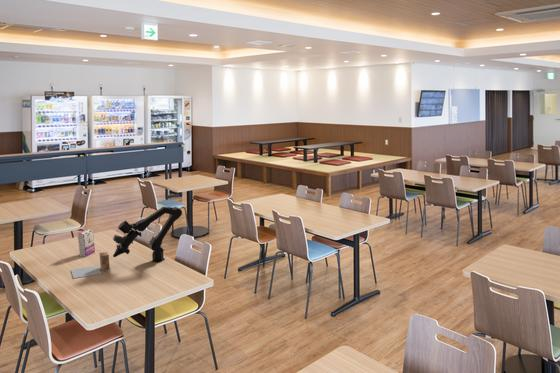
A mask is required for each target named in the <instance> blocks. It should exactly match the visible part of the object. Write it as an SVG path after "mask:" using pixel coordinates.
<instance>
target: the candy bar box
mask: <svg viewBox="0 0 560 373" xmlns="http://www.w3.org/2000/svg"><path fill="white" fill-rule="evenodd" d="M77 239H78V242H77V243H78V249H79V250H78V251H79V257H82V258H84V257H85V258H86V257H88V256H90V255H92V254H93V253H95V252H96V251H95V250H96V249H95V241H94V240H95V239H94V231H93V229H85V230H83V231H81V232H79V233H77Z"/></svg>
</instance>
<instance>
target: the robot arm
mask: <svg viewBox="0 0 560 373" xmlns="http://www.w3.org/2000/svg"><path fill="white" fill-rule="evenodd" d="M165 214H166V215H167V214H168V218H167V220H166V221H165V223H164V224H163V226H162V228H161V229H160V230H159V232H158V234H157V235H156V236H155V237H154V236H152V238H150V240H149V244H148V246H149V248H150V249H151V250H152V254H151V256H152V260H151V262H155V263H162V261H165V260H166V258H164V257H165V256H164V248H163V247H162V244H163V240H164V238H165V236H166V235H167V233H168V232H169V231H170V229H171V228H172V226H173V225H174V223H175V222H176V221H178V220H179V219H180V217H181V216H182V214H183V210H182V209H181V208H179V207H177V206H174V207H171V206H170V207H169V206H162V207H160V208H159V209H158V210H156V211H155V212H153V213H152V214H150V215H149V216H147V217H146V218H142V219H140V220H138V221H136V222H135V223H131V224H130V223H129V222H128V221H127V220H124V221H122V222H121V223H120V224H119V225H118V226H117V230H119V231H121V232H122V233H123V234H126V235H123V236H120V235H117V234H114V236H113V238H112V240H113V241H114V242H115V243H116V249H115V251H114V253H113V255H112V258H117V257H118V256H120V255H122V254H127V255H129V254H130V253H131V250H130V249H129V248H130V247H129V246H130V245H131V244H134V241H135V240H136V239H137V238H138V237H140V238H141V237H142V232H144V231H145V230H146V229H147V228H149V226H150V225H151V224H152V223H154V222H155V221H157V219H159V218H161V217H162V216H164V215H165Z"/></svg>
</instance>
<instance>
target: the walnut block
mask: <svg viewBox="0 0 560 373" xmlns="http://www.w3.org/2000/svg"><path fill="white" fill-rule="evenodd" d="M109 256H110V255H109V253H108V252H107V251H103V252H99V262H100V271H101V272H107V271H111V268H110V257H109Z"/></svg>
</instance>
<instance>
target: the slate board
mask: <svg viewBox="0 0 560 373" xmlns="http://www.w3.org/2000/svg"><path fill="white" fill-rule="evenodd" d="M70 271H71V274H72V278H73V279H79V278H86V277H91V276H98V275H102V271H101V268H100V267H99V265H94V266H87V267H82V268H75V269H70Z"/></svg>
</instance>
